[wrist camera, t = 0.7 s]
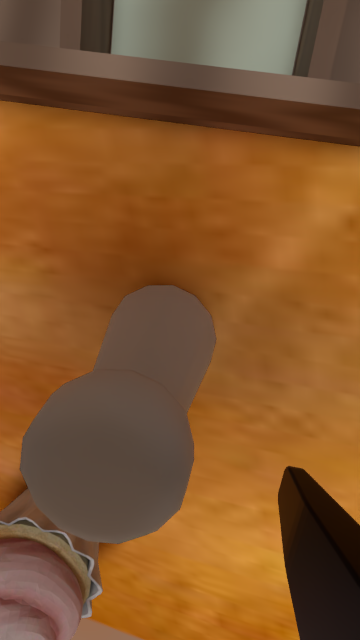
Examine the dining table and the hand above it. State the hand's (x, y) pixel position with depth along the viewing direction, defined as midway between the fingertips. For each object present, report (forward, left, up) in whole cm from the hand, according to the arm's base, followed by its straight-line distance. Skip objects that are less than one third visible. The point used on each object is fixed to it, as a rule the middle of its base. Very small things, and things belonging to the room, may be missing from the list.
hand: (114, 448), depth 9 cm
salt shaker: (0, 0, -12) cm, 12 cm away
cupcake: (+6, +16, -12) cm, 21 cm away
